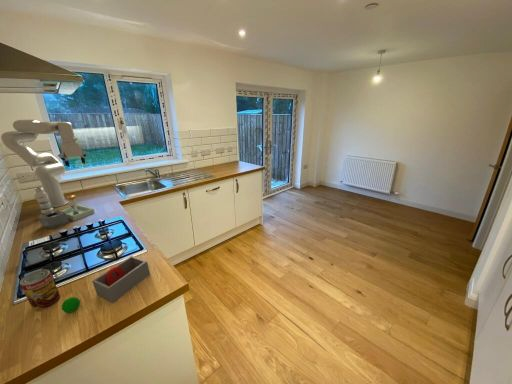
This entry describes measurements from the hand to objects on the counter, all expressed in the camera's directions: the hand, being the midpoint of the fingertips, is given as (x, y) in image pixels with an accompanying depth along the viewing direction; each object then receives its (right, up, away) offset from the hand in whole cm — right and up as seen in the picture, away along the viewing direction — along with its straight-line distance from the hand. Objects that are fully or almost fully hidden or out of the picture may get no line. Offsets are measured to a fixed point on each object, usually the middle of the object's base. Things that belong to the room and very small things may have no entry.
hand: (76, 164), depth 154 cm
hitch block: (0, -41, -16) cm, 44 cm away
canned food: (+51, -62, -73) cm, 108 cm away
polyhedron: (+64, -63, -77) cm, 118 cm away
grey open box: (+76, -58, -66) cm, 116 cm away
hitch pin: (+3, -35, -3) cm, 35 cm away
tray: (+3, -35, -2) cm, 36 cm away
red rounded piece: (+75, -58, -64) cm, 114 cm away
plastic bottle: (-17, -36, -2) cm, 40 cm away
